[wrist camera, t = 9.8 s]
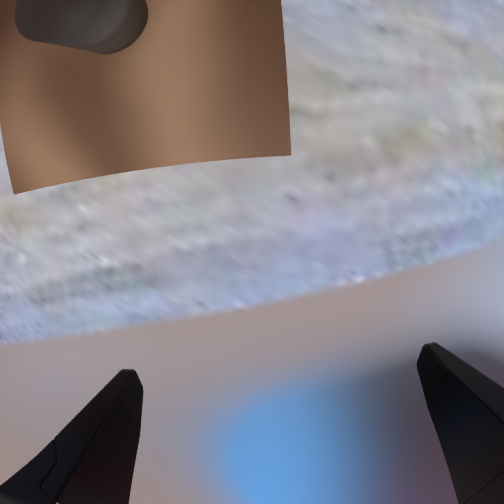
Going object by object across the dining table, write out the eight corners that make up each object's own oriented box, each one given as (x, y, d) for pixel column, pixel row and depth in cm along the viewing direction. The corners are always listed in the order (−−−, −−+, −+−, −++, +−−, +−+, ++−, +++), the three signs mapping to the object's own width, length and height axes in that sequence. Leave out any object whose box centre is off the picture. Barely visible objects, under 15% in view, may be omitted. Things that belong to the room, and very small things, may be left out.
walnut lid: (265, -103, 8) (276, -172, 2) (287, 151, 14) (317, 187, 9) (11, -35, 8) (-55, -54, 2) (24, 188, 14) (-47, 234, 9)
